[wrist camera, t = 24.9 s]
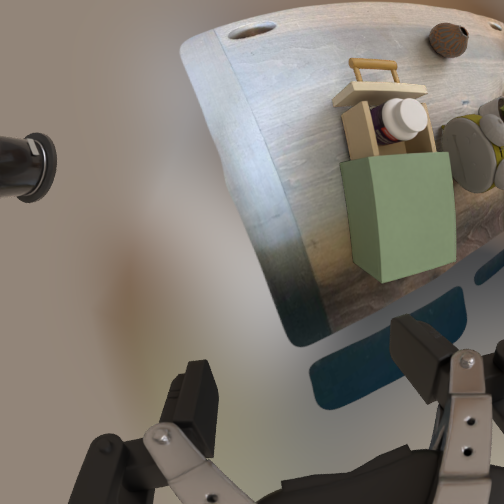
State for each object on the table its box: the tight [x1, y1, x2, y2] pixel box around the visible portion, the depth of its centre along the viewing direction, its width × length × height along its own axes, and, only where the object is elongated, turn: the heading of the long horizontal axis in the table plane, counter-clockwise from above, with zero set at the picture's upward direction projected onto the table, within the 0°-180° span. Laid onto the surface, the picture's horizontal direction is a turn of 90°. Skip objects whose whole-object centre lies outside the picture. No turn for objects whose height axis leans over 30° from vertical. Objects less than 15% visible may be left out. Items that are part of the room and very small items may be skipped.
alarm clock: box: [441, 114, 504, 193], centre depth 28 cm, size 12×7×15 cm, turn 22°
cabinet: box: [340, 152, 456, 283], centre depth 33 cm, size 15×13×10 cm
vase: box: [429, 23, 469, 58], centre depth 26 cm, size 7×7×9 cm
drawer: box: [332, 58, 436, 160], centre depth 30 cm, size 18×11×8 cm, turn 11°
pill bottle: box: [370, 98, 427, 146], centre depth 28 cm, size 5×5×10 cm
